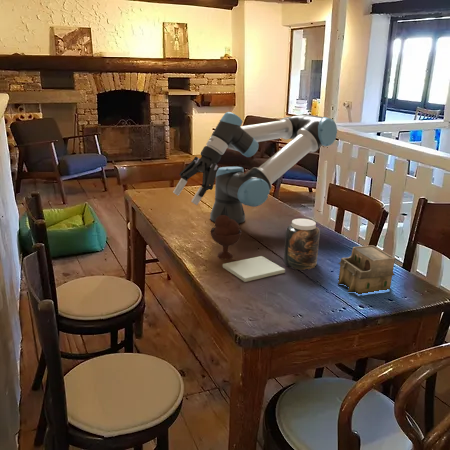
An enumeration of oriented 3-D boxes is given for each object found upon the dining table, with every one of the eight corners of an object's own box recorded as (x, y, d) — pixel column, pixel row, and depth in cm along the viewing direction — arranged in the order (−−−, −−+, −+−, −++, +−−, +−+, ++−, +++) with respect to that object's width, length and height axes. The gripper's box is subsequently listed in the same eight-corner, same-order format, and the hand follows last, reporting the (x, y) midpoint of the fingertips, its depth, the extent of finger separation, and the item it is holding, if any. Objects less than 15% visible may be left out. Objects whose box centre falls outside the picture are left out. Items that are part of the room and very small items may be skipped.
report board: (261, 259, 174) (261, 255, 173) (284, 272, 163) (284, 269, 163) (222, 267, 165) (222, 263, 165) (244, 281, 155) (245, 278, 155)
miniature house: (369, 274, 165) (373, 242, 162) (395, 292, 153) (401, 258, 149) (329, 278, 161) (333, 245, 157) (353, 297, 148) (358, 262, 144)
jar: (276, 259, 175) (280, 218, 170) (305, 255, 179) (309, 215, 174) (294, 271, 164) (298, 229, 160) (323, 267, 169) (328, 226, 164)
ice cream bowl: (218, 264, 168) (220, 222, 163) (204, 252, 177) (206, 212, 172) (246, 259, 173) (248, 218, 168) (230, 248, 182) (232, 209, 177)
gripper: (189, 139, 193) (161, 186, 192) (226, 151, 174) (195, 203, 173) (202, 149, 198) (175, 194, 197) (239, 162, 179) (209, 212, 178)
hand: (184, 198), depth 185 cm, fingers open, 13 cm apart
